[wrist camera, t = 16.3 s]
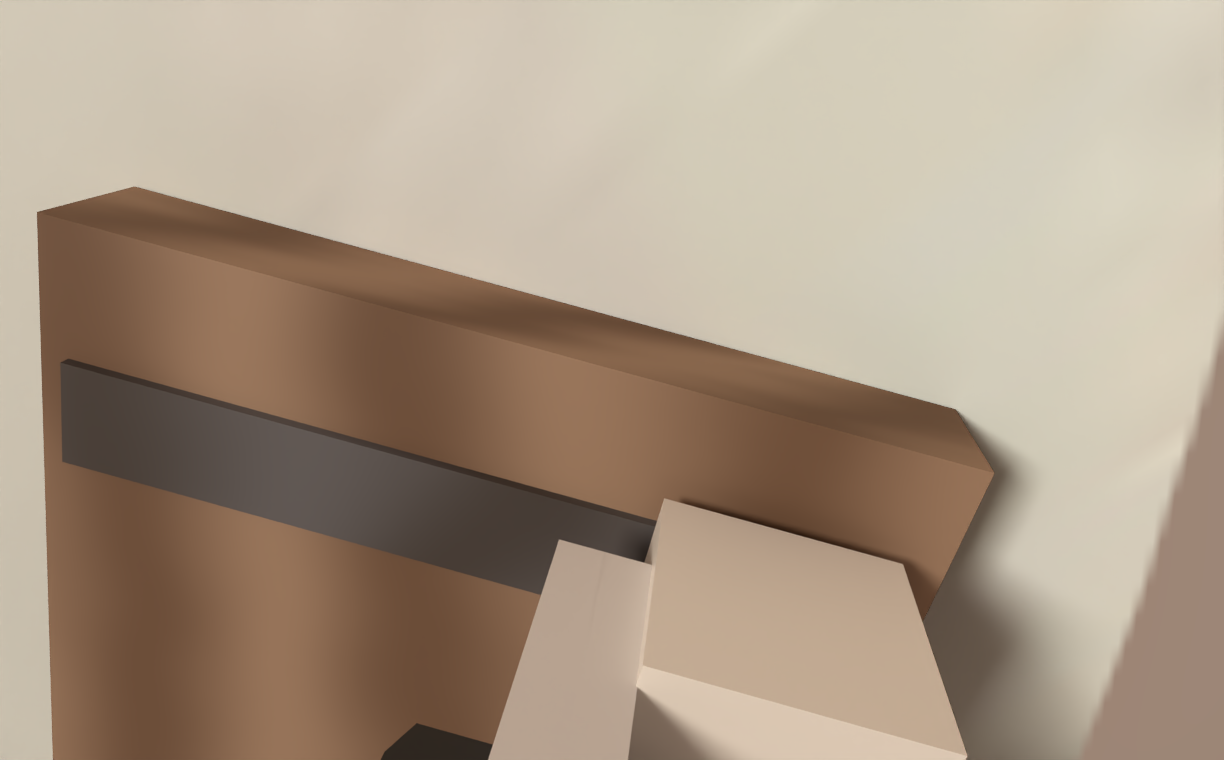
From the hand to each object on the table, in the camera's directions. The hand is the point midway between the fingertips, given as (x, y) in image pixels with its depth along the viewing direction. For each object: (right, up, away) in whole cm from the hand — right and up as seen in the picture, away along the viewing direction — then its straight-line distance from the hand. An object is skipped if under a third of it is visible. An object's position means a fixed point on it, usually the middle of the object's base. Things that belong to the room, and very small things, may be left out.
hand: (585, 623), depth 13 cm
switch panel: (-5, -9, +9) cm, 14 cm away
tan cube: (+3, 0, +1) cm, 3 cm away
